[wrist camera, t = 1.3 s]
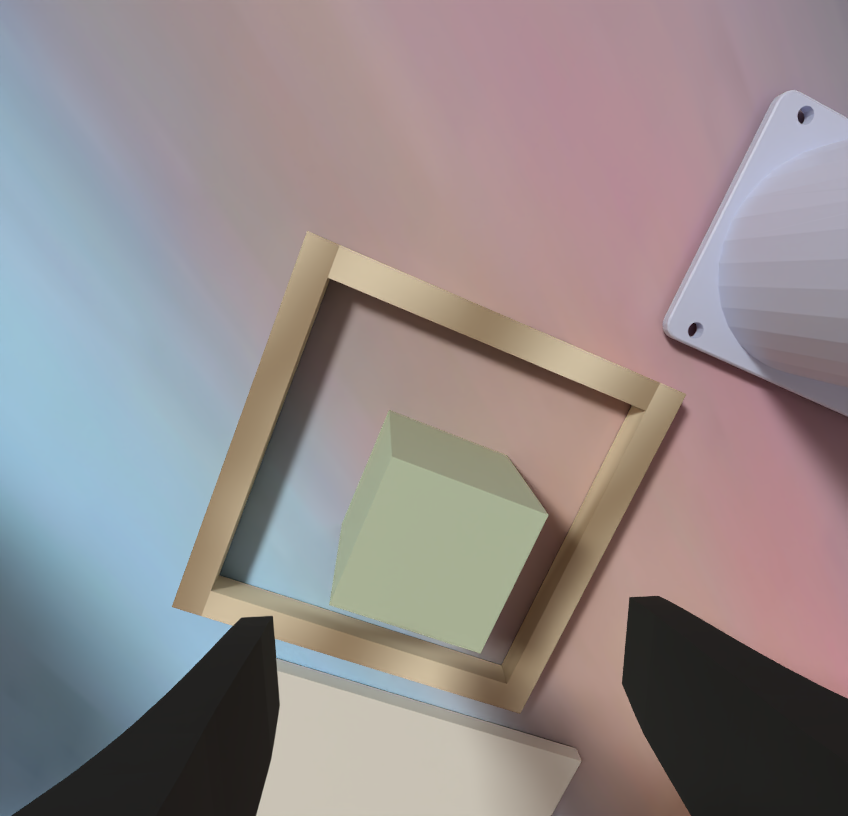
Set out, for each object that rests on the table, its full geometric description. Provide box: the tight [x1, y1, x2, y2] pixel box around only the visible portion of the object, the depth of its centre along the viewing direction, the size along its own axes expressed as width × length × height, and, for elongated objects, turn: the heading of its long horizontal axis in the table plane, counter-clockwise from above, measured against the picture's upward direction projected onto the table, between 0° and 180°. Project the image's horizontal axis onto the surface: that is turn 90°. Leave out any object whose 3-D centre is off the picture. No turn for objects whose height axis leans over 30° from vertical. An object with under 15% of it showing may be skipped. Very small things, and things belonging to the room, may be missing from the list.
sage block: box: [329, 410, 548, 653], centre depth 17 cm, size 4×4×5 cm
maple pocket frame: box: [172, 231, 686, 714], centre depth 19 cm, size 13×13×1 cm
